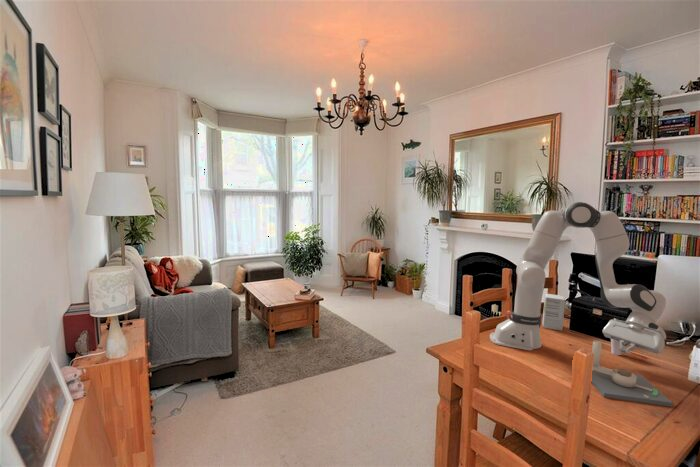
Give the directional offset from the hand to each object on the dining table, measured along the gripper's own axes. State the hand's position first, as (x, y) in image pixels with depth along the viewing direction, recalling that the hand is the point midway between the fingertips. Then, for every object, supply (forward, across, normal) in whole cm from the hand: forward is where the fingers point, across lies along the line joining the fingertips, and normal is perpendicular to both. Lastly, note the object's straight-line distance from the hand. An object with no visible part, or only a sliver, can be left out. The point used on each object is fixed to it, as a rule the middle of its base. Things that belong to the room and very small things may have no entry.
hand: (623, 352), depth 145 cm
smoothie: (-6, -10, +16) cm, 20 cm away
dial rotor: (+15, +7, -7) cm, 18 cm away
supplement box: (-10, -44, +20) cm, 50 cm away
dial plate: (+16, +8, -6) cm, 19 cm away
